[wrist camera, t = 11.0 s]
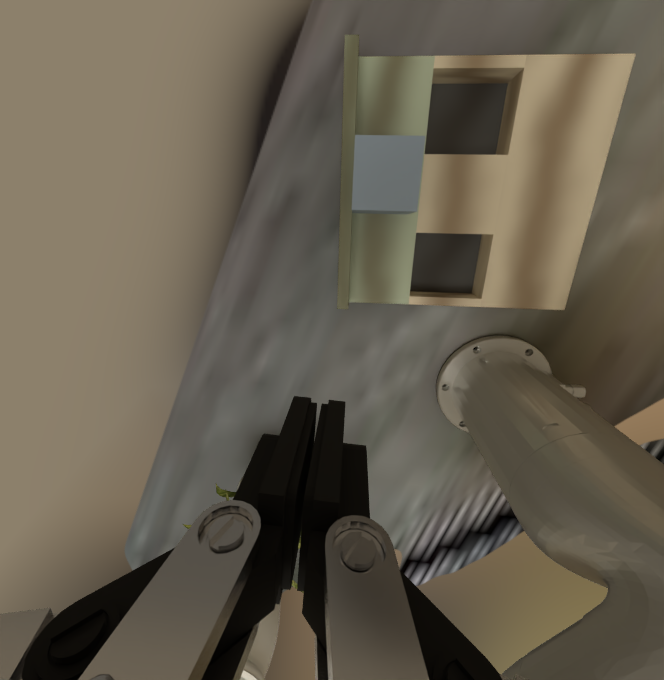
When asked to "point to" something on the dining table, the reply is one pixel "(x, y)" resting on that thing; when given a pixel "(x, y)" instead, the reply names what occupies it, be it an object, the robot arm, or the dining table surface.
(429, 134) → the board
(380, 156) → the block
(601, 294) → the dining table surface
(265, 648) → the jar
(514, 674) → the robot arm
